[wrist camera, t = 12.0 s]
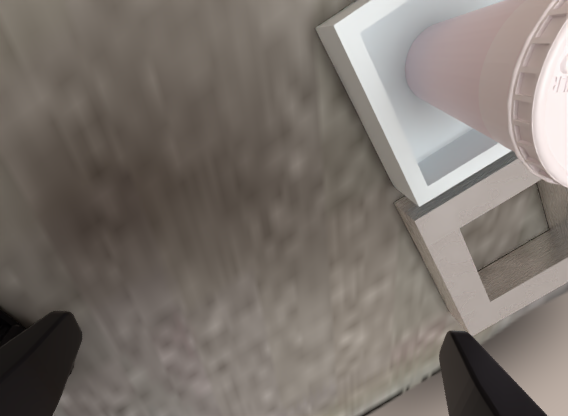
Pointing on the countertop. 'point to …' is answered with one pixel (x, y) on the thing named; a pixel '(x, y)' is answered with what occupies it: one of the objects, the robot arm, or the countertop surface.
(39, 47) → the countertop surface
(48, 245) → the countertop surface
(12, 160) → the countertop surface
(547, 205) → the bore block
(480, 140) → the tray
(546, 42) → the smoothie
